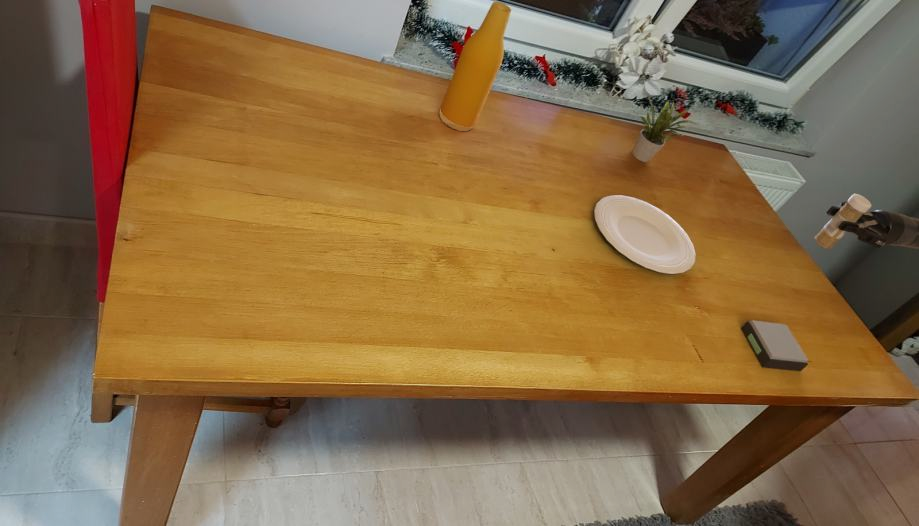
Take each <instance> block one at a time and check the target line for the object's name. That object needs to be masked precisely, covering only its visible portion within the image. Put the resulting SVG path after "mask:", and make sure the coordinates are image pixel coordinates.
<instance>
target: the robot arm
mask: <svg viewBox="0 0 919 526" xmlns="http://www.w3.org/2000/svg"><path fill="white" fill-rule="evenodd" d="M846 203H847V201H842V202H840V204H839V205H838V206H835V205H831V206H830V207H829V208H828V210H827V211H826V214H827V215H828V216H829V217H833V216H834V215H835V214H836V213H837V212H838V211H839V210H840V209H841V208H842V207H843V206H844V205H845V204H846ZM838 228H839V230H842V231H846V233H851V234H852V235H853V236H857V237H856V239H857V240H858V241H860V242H861V243H865V244H868V245H870V246H873V247H875V248H878V249H881V248H883V246H884V245H887V246H893V247H904V248H910V249H919V218H917V217H912V216H908V215H905V214H903V213H898V212H892V211H887V210H883V209H876V210H873V211H870V212H869V211H867V212H866V213H864V214H863V215H862V216H861V217H860V218H859V219H858V220H857V221H856V222H855V223H854V222H849V221H843V222H842V223H841V224H840V225H839V226H838Z"/></svg>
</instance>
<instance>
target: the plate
mask: <svg viewBox="0 0 919 526" xmlns="http://www.w3.org/2000/svg"><path fill="white" fill-rule="evenodd" d="M593 214H594V221H595V224H596V226H597V229H598V230H599V232H600V233H601V235H602V236H603V237H604V239H605V240H606V242H608V244H609V245H610V246H611V247H612V248H614V249H615V250H616V251H617V252H618V253H619V254H620V255H622V256H624V257H625V258H626V259H628V260H629V261H631V263H632V262H633V263H634V264H636V265H638V266H640V267H642V268H644V269H647V270H649V271H653V272H656V273H659V274H665V275H680V274H684V273H686V272H688V271H689V270H691V269H692V267H693V266H694V264H695V263H696V255H697V254H696V250H695V247H694V244H693V242H692V241H691V238H690V237H689V235H688V233H687V232H686V231H685V230H684V228H683V227H682V226H681V225H680V224H679V223H678V222H677V221H676V220H674V219H673V218H672V217H671V215H669V214H667V213H666V212H664V211H663V210H661V209H660V208H658V207H656V206H655V205H654V204H650V203H649V202H647V201H645V200H642V199H639V198H637V197H633V196H628V195H622V194H620V195H619V194H615V195H613V194H612V195H611V194H610V195H607V196H605V197H604V196H603V197H602V198H601V199H600V200H599V201H597V202H596V204H595V207H594V209H593Z"/></svg>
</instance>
